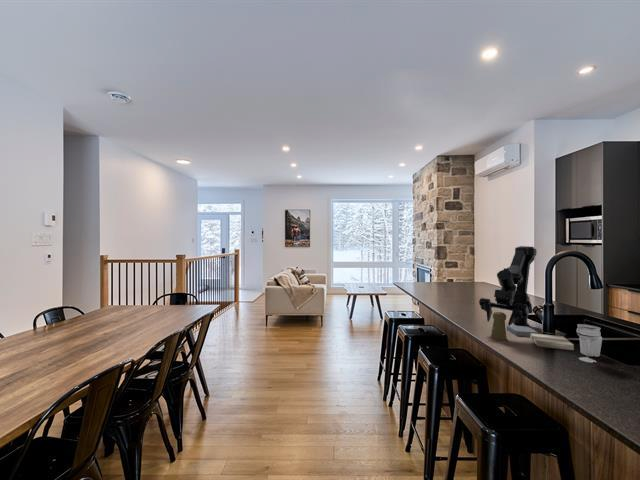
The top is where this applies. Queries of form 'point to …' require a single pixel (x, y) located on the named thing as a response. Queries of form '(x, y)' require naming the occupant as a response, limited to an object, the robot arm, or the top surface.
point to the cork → (499, 326)
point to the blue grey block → (521, 330)
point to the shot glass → (591, 347)
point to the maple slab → (551, 341)
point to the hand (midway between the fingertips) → (498, 323)
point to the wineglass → (588, 337)
